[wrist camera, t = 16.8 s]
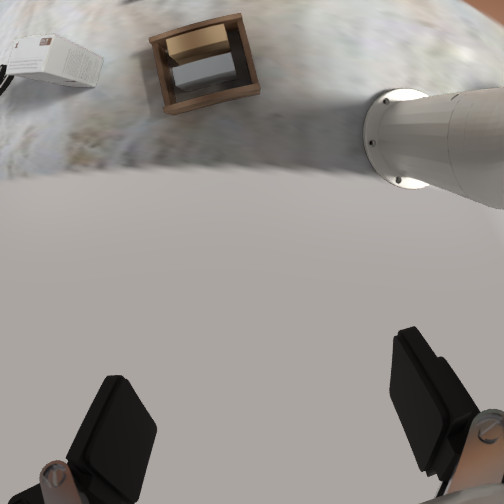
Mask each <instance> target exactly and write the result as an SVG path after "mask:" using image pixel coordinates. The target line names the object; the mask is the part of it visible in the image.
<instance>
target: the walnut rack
mask: <svg viewBox="0 0 504 504" xmlns="http://www.w3.org/2000/svg"><path fill="white" fill-rule="evenodd" d="M220 24H224V27H225V30H226V33H228V32H232V31H237V30H239V34H240V38H241V42H242V46H243V50H244V54H245V58H246V62H247V66H248V70H249V74H250V78H251V82H252V84H251V85H246V86H242V87H237V88H232V89H228V90H224V91H220V92H216V93H212V94H208V95H204V96H200V97H197V98H193V99H189V100H186V101H182V102H179V103H176V99H175V94H174V90H173V86H172V81H171V76H170V72H169V67H168V63H167V58H166V53H165V50H166V49H168V47H167V42H166V39H169V38H172V37H176V36H179V35H182V34H186V33H189V32H193V31H196V30H200V29H204V28H208V27H212V26H216V25H220ZM149 43H150V44H152V46H153V51H154V56H155V61H156V66H157V71H158V75H159V80H160V85H161V89H162V94H163V98H164V103H165V107H163V109H164V113H167V114H171V115H176V114H180V113H183V112H186V111H190V110H194V109H197V108H201V107H205V106H209V105H212V104H216V103H221V102H225V101H229V100H233V99H238V98H242V97H247V96H252V95H257V94H260V85H259V83H258V79H257V75H256V71H255V67H254V63H253V59H252V55H251V51H250V47H249V43H248V39H247V35H246V31H245V28H244V24H243V20H242V15H241V13H237V14H232V15H227V16H223V17H218V18H214V19H210V20H206V21H202V22H198V23H195V24H191V25H188V26H184V27H181V28H177V29H174V30H171V31H168V32H165V33H162V34H159V35H156V36H153V37H150V38H149Z"/></svg>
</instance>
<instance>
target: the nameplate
mask: <svg viewBox="0 0 504 504" xmlns="http://www.w3.org/2000/svg"><path fill="white" fill-rule="evenodd" d="M6 69H7V65H1V66H0V96H1V95H2V93H3V92H4V91H5V90H6V88H7V87H8V86H9V84H10V83H11V81H12V80H13V78H14V76H13V75H6V76H5V74H6ZM4 76H5V77H4ZM3 78H4V79H3Z"/></svg>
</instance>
